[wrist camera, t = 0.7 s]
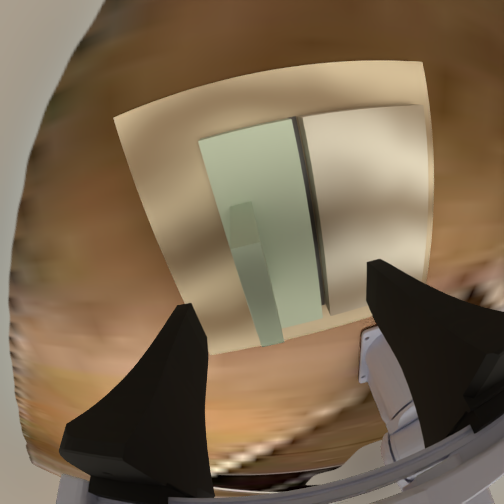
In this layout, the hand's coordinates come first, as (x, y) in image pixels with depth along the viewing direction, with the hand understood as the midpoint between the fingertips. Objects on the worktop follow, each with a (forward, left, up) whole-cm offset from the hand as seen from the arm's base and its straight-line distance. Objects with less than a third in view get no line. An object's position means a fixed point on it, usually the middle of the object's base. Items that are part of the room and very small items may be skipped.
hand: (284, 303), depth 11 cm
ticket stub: (-1, 0, -8) cm, 8 cm away
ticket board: (-1, -3, -9) cm, 10 cm away
